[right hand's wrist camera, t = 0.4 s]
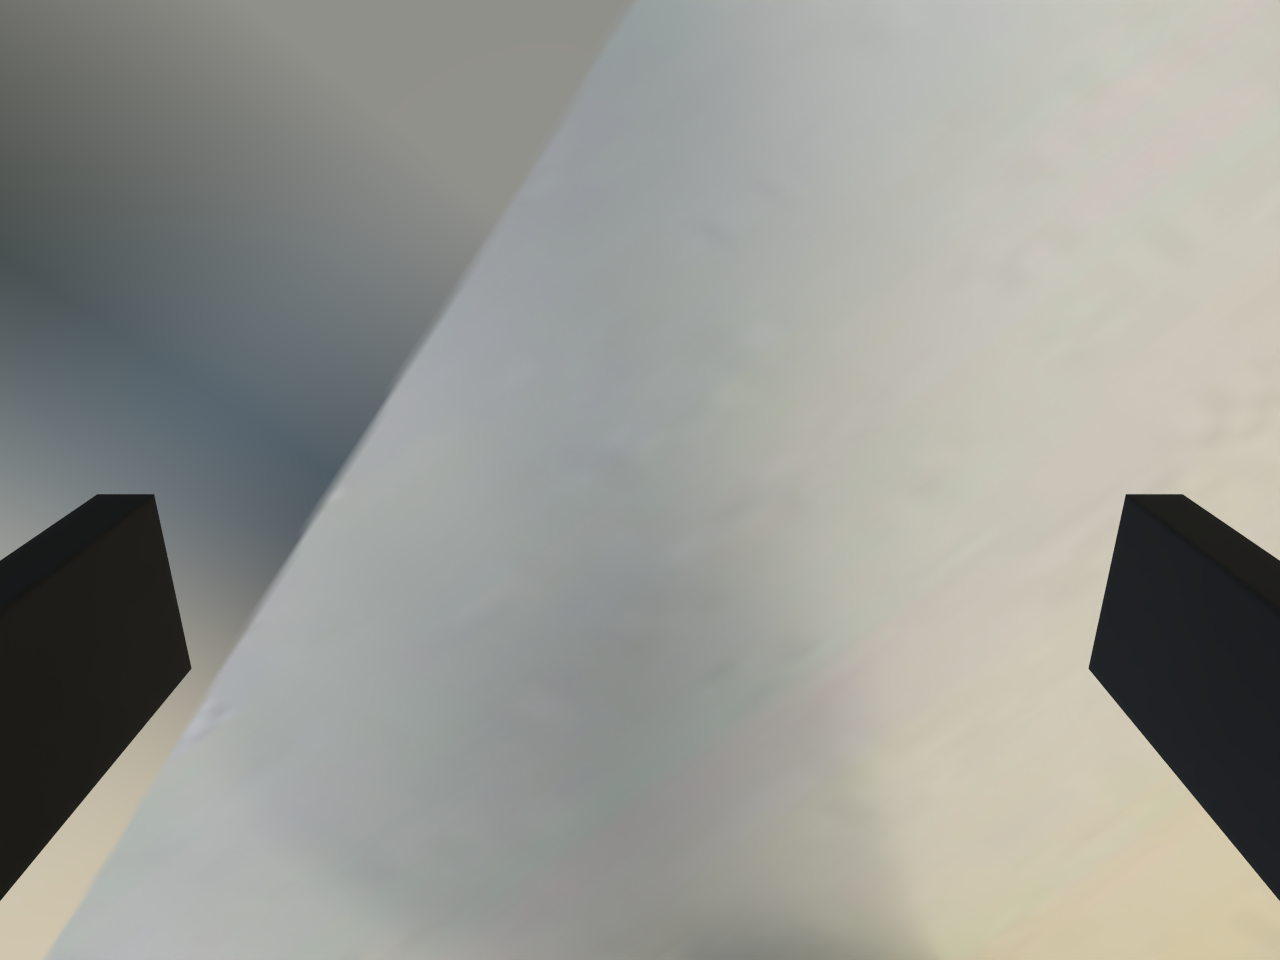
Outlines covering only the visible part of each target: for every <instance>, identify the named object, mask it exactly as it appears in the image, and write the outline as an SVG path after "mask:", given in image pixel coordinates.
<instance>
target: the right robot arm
mask: <svg viewBox="0 0 1280 960" xmlns="http://www.w3.org/2000/svg"><path fill="white" fill-rule="evenodd" d="M190 670H191V664H190V660H189V655H188V650H187V646H186V641H185V636H184V632H183V627H182V622H181V618H180V613H179V608H178V604H177V599H176V594H175V590H174V585H173V580H172V576H171V571H170V567H169V562H168V557H167V553H166V548H165V543H164V538H163V534H162V529H161V524H160V520H159V515H158V510H157V506H156V501H155V497H154V494H97V495H96V496H94V497H93V498H91V499H90V500H88V501H87V502H86V503H84V504H83V505H81V506H80V507H78V508H77V509H75V510H74V511H72V512H71V513H69V514H68V515H66V516H65V517H64V518H62V519H61V520H59V521H58V522H56V523H55V524H53V525H52V526H50V527H49V528H47V529H46V530H45V531H43V532H42V533H40V534H39V535H37V536H36V537H34V538H33V539H31V540H30V541H28V542H27V543H26V544H24V545H23V546H21V547H20V548H18V549H17V550H15V551H14V552H12V553H11V554H9V555H8V556H6V557H5V558H4V559H2V560H1V561H0V900H1V899H2V898H3V897H4V896H5V894H6V893H7V892H8V891H9V890H10V888H11V887H12V886H13V885H14V883H15V882H16V881H17V880H18V879H19V877H20V876H21V875H22V874H23V873H24V871H25V870H26V869H27V868H28V866H29V865H30V864H31V863H32V862H33V860H34V859H35V858H36V857H37V856H38V854H39V853H40V852H41V851H42V849H43V848H44V847H45V846H46V845H47V843H48V842H49V841H50V840H51V839H52V837H53V836H54V835H55V834H56V832H57V831H58V830H59V829H60V828H61V826H62V825H63V824H64V823H65V821H66V820H67V819H68V818H69V817H70V815H71V814H72V813H73V812H74V811H75V809H76V808H77V807H78V806H79V804H80V803H81V802H82V801H83V800H84V798H85V797H86V796H87V795H88V794H89V792H90V791H91V790H92V789H93V787H94V786H95V785H96V784H97V783H98V781H99V780H100V779H101V778H102V777H103V775H104V774H105V773H106V772H107V770H108V769H109V768H110V767H111V766H112V764H113V763H114V762H115V761H116V759H117V758H118V757H119V756H120V755H121V753H122V752H123V751H124V750H125V749H126V747H127V746H128V745H129V744H130V743H131V741H132V740H133V739H134V738H135V736H136V735H137V734H138V733H139V732H140V730H141V729H142V728H143V727H144V726H145V724H146V723H147V722H148V721H149V719H150V718H151V717H152V716H153V715H154V713H155V712H156V711H157V710H158V709H159V707H160V706H161V705H162V704H163V702H164V701H165V700H166V699H167V698H168V696H169V695H170V694H171V693H172V692H173V690H174V689H175V688H176V687H177V685H178V684H179V683H180V682H181V681H182V679H183V678H184V677H185V676H186V675H187V673H188V672H189V671H190ZM1089 670H1090V671H1091V672H1092V673H1093V675H1094V676H1095V677H1096V678H1097V679H1098V681H1099V682H1100V683H1101V684H1102V685H1103V687H1104V688H1105V689H1106V690H1107V692H1108V693H1109V694H1110V695H1111V696H1112V698H1113V699H1114V700H1115V701H1116V702H1117V704H1118V705H1119V706H1120V707H1121V709H1122V710H1123V711H1124V712H1125V713H1126V715H1127V716H1128V717H1129V718H1130V719H1131V721H1132V722H1133V723H1134V724H1135V726H1136V727H1137V728H1138V729H1139V730H1140V732H1141V733H1142V734H1143V735H1144V736H1145V738H1146V739H1147V740H1148V741H1149V743H1150V744H1151V745H1152V746H1153V747H1154V749H1155V750H1156V751H1157V752H1158V753H1159V755H1160V756H1161V757H1162V758H1163V760H1164V761H1165V762H1166V763H1167V764H1168V766H1169V767H1170V768H1171V769H1172V770H1173V772H1174V773H1175V774H1176V775H1177V777H1178V778H1179V779H1180V780H1181V781H1182V783H1183V784H1184V785H1185V786H1186V788H1187V789H1188V790H1189V791H1190V792H1191V794H1192V795H1193V796H1194V797H1195V798H1196V800H1197V801H1198V802H1199V803H1200V805H1201V806H1202V807H1203V808H1204V809H1205V811H1206V812H1207V813H1208V814H1209V815H1210V817H1211V818H1212V819H1213V820H1214V822H1215V823H1216V824H1217V825H1218V826H1219V828H1220V829H1221V830H1222V831H1223V832H1224V834H1225V835H1226V836H1227V837H1228V839H1229V840H1230V841H1231V842H1232V843H1233V845H1234V846H1235V847H1236V848H1237V849H1238V851H1239V852H1240V853H1241V854H1242V856H1243V857H1244V858H1245V859H1246V860H1247V862H1248V863H1249V864H1250V865H1251V866H1252V868H1253V869H1254V870H1255V871H1256V873H1257V874H1258V875H1259V876H1260V877H1261V879H1262V880H1263V881H1264V882H1265V883H1266V885H1267V886H1268V887H1269V888H1270V890H1271V891H1272V892H1273V893H1274V894H1275V896H1276V897H1277V898H1278V899H1279V900H1280V561H1279V560H1278V559H1276V558H1275V557H1274V556H1272V555H1271V554H1269V553H1268V552H1266V551H1265V550H1263V549H1262V548H1260V547H1259V546H1257V545H1256V544H1254V543H1253V542H1252V541H1250V540H1249V539H1247V538H1246V537H1244V536H1243V535H1241V534H1240V533H1238V532H1237V531H1235V530H1234V529H1233V528H1231V527H1230V526H1228V525H1227V524H1225V523H1224V522H1222V521H1221V520H1219V519H1218V518H1216V517H1215V516H1214V515H1212V514H1211V513H1209V512H1208V511H1206V510H1205V509H1203V508H1202V507H1200V506H1199V505H1197V504H1196V503H1194V502H1193V501H1192V500H1190V499H1189V498H1187V497H1186V496H1184V495H1183V494H1126V496H1125V501H1124V506H1123V510H1122V515H1121V520H1120V524H1119V529H1118V534H1117V538H1116V543H1115V548H1114V552H1113V557H1112V562H1111V566H1110V571H1109V576H1108V580H1107V585H1106V590H1105V594H1104V599H1103V604H1102V608H1101V613H1100V618H1099V622H1098V627H1097V632H1096V636H1095V641H1094V646H1093V650H1092V655H1091V660H1090V664H1089Z"/></svg>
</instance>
